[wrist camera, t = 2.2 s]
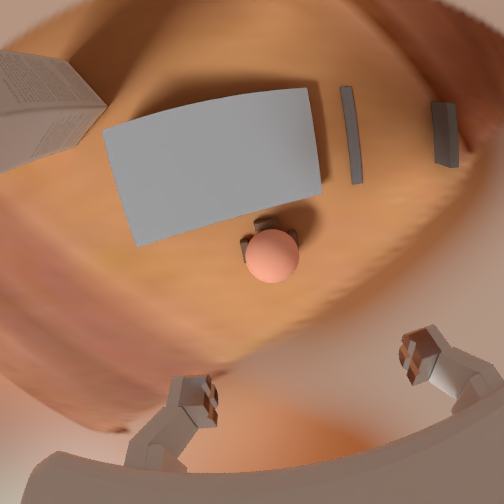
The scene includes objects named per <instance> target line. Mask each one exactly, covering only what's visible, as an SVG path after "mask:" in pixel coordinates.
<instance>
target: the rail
mask: <svg viewBox="0 0 504 504" xmlns="http://www.w3.org/2000/svg"><path fill="white" fill-rule="evenodd" d="M431 107H432V116H433V127H434V143H435V163H438V164H441V165H444V166H447V167H449V168H455V167H459V148H458V127H457V114H456V104H454V103H444V102H431Z"/></svg>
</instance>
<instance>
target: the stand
mask: <svg viewBox="0 0 504 504" xmlns="http://www.w3.org/2000/svg"><path fill="white" fill-rule="evenodd" d="M254 226H255V231H259V230H264V229H270V228H275V227H278V221H277V218H276V217H275V218H269V219H264V220H259V221H254ZM288 233H289V235H290V236H291V237H292V238H293V240H294V241H295V242H296V244H297V247H298V240H297V233H296V231H295V230H291V231H288ZM240 245H241V249H242V254H243V258H244V263H246V258H245V254H246V249H247V246H248V241H247V239H243V240H240ZM298 250H299V248H298Z"/></svg>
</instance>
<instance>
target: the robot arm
mask: <svg viewBox="0 0 504 504" xmlns="http://www.w3.org/2000/svg"><path fill="white" fill-rule="evenodd" d="M401 341H402V343H403V345H402V346H401V347H400V349H399V360H400V363H401V365H402V367H403V368H405V369H406V370H408V372H407V377H408V379H409V381H410V382H411V384H412V386H414V385H417V384H420V383H422V382H425V381H428V380H429V382H430V383H432V384H433V385H435V386H436V387H438V388H439V389H441V390H442V391H444V392H445V393H447V394H448V395H450V396H451V397H453V398H454V399H456V400H457V401H456V403H455V404H454V406H453V407H452V410H451V412H452V416H450V417H448V418H446V419H444V420H442V421H440V422H438V423H436V424H434V425H432V426H430V427H428V428H425V429H423V430H421V431H418V432H416V433H413V434H411V435H408V436H406V437H403V438H401V439H398V440H396V441H393V442H390V443H387V444H384V445H381V446H378V447H375V448H372V449H369V450H366V451H362V452H359V453H355V454H352V455H348V456H344V457H340V458H336V459H331V460H327V461H322V462H317V463H313V464H308V465H301V466H296V467H289V468H282V469H274V470H265V471H256V472H255V471H254V472H240V473H187V467H186V466H185V465H183V464H182V463H181V462H180V461H179V460H178V459H177V458H178V457H179V455H180V454H181V453H182V451H183V450H184V448H185V447H186V446H187V444H188V443H189V441H190V440H191V439H192V437H193V436H194V434H195V433H196V431H197V430H198V429H197V428H211V427H217V419H218V414H217V412H216V410H215V409H216V408H217V406H218V393H217V389H216V387H215V386H214V385H213V384H211V381H212V379H211V377H210V375H209V374H202V375H183V376H173V378H172V380H171V385H170V390H169V395H168V400H167V405H166V407H163V408H162V409H161V410H160V411H159V412H158V413H157V414H156V415H155V416H154V417H153V418H152V419H151V420H150V421H149V422H148V423H147V424H146V425H145V426H144V427H143V428H142V429H141V430H140V431H139V432H138V433H137V434H136V435H135V436H134V437H133V438H132V439H131V440H130V441H129V446H128V450H127V454H126V458H125V463H124V466H120V465H114V464H109V463H104V462H99V461H95V460H91V459H87V458H82V457H79V456H76V455H72V454H69V453H66V452H61V451H57V452H55V453H53V454H51V455H50V456H48V457H47V458H45V459H44V460H43V461H42V462H41V463H39V464H38V465H37V466H36V467H35V468H34V469H33V471H32V473H31V475H30V477H29V479H28V482H27V485H26V488H25V491H24V493H23V497H22V501H21V504H504V380H503V378H502V377H501V376H500V374H499V373H498V371H497V370H496V368H495V367H494V365H493V364H490V363H488V362H486V361H484V360H482V359H479V358H477V357H475V356H473V355H470V354H469V353H466V352H464V351H462V350H459V349H457V348H455V347H453V348H451V346H450V345H449V344H448V342H447V341H446V339H445V338H444V337H443V335H442V334H441V333H440V331H439V330H438V329H437V327H436V326H435V325H433V324H432V325H430V326H427V327H424V328H420V329H418V330H415V331H412V332H409V333H406V334H404V335H403V336H402V340H401Z"/></svg>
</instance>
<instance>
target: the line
mask: <svg viewBox="0 0 504 504" xmlns="http://www.w3.org/2000/svg"><path fill="white" fill-rule="evenodd" d="M340 90H341V96H342V102H343V109H344V115H345V122H346V130H347V138H348V146H349V156H350V166H351V177H352V184H360V183H363V182H362V168H361V156H360V146H359V137H358V129H357V121H356V113H355V107H354V100H353V94H352V88H351V87H340Z"/></svg>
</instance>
